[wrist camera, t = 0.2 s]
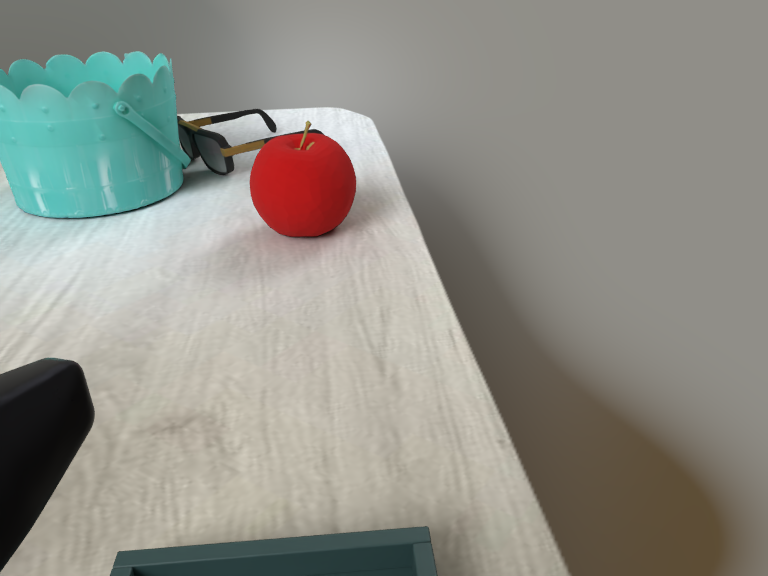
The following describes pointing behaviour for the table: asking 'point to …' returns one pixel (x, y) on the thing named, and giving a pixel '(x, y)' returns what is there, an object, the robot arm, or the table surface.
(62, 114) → the basket
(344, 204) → the fruit
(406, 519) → the table surface
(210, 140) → the sunglasses
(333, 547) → the bin
